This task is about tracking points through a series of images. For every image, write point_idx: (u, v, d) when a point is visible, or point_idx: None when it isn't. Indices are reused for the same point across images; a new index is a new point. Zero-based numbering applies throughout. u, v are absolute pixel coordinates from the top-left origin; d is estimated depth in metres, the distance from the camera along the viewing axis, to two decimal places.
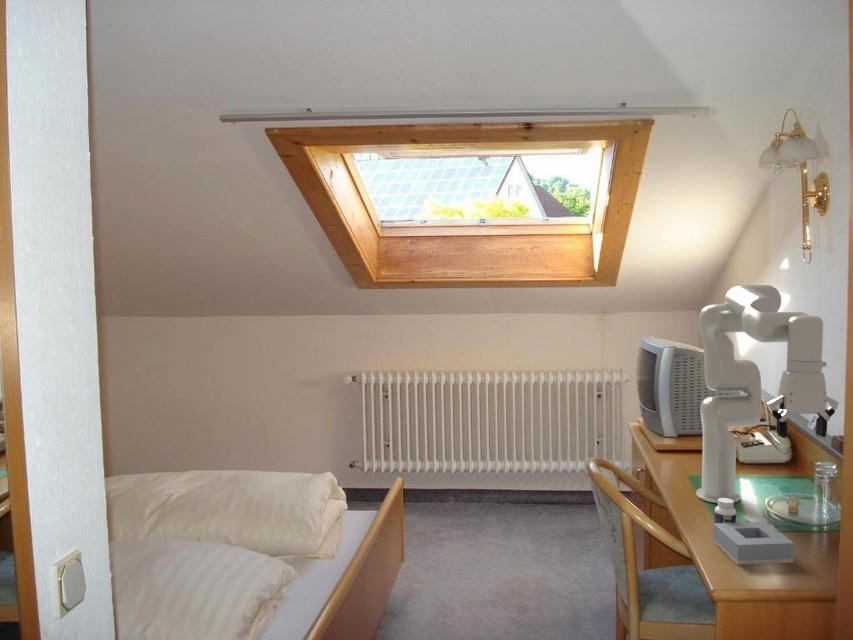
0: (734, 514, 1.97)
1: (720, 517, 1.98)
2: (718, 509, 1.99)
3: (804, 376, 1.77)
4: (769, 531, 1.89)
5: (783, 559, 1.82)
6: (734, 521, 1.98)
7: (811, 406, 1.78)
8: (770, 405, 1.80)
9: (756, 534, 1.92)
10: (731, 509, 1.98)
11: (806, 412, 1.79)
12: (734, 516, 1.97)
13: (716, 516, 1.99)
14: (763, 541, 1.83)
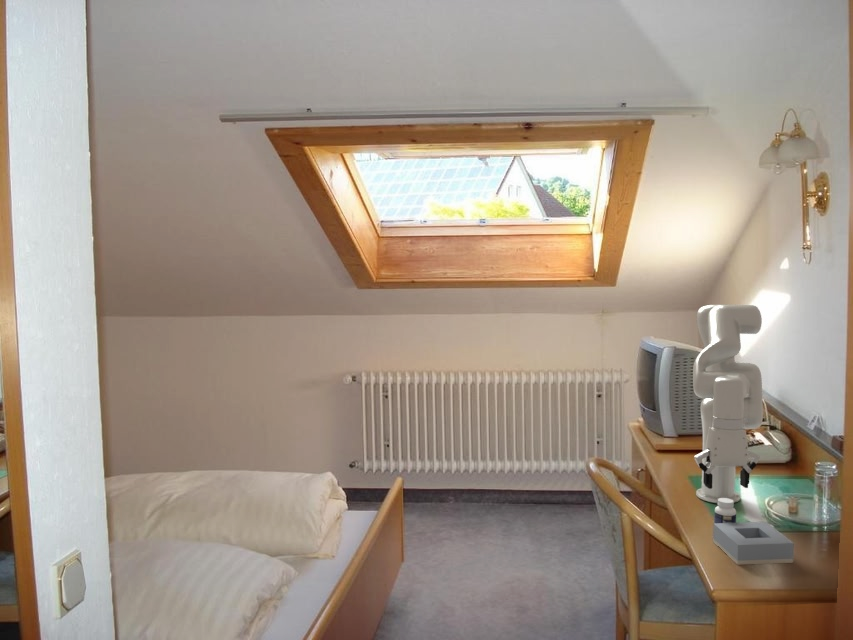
0: (734, 514, 1.97)
1: (720, 517, 1.98)
2: (718, 509, 1.99)
3: (727, 432, 1.94)
4: (769, 531, 1.89)
5: (783, 559, 1.82)
6: (734, 521, 1.98)
7: (734, 460, 1.95)
8: (697, 458, 1.97)
9: (756, 534, 1.92)
10: (731, 509, 1.98)
11: (729, 465, 1.96)
12: (734, 516, 1.97)
13: (716, 516, 1.99)
14: (763, 541, 1.83)
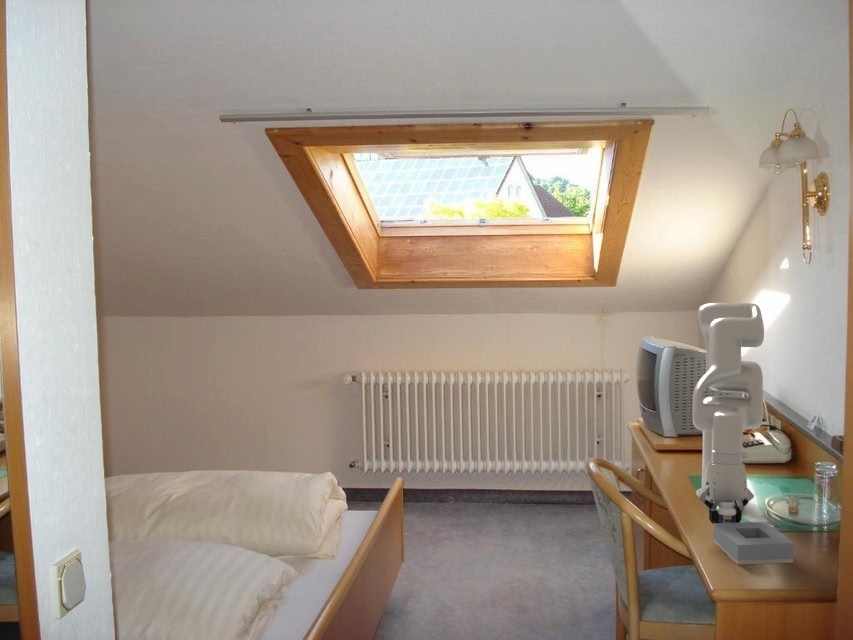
0: (734, 514, 1.97)
1: (720, 517, 1.98)
2: (718, 509, 1.99)
3: (726, 467, 1.96)
4: (769, 531, 1.89)
5: (783, 559, 1.82)
6: (734, 521, 1.98)
7: (733, 494, 1.97)
8: (700, 498, 1.98)
9: (756, 534, 1.92)
10: (731, 509, 1.98)
11: (728, 499, 1.97)
12: (734, 516, 1.97)
13: None
14: (763, 541, 1.83)
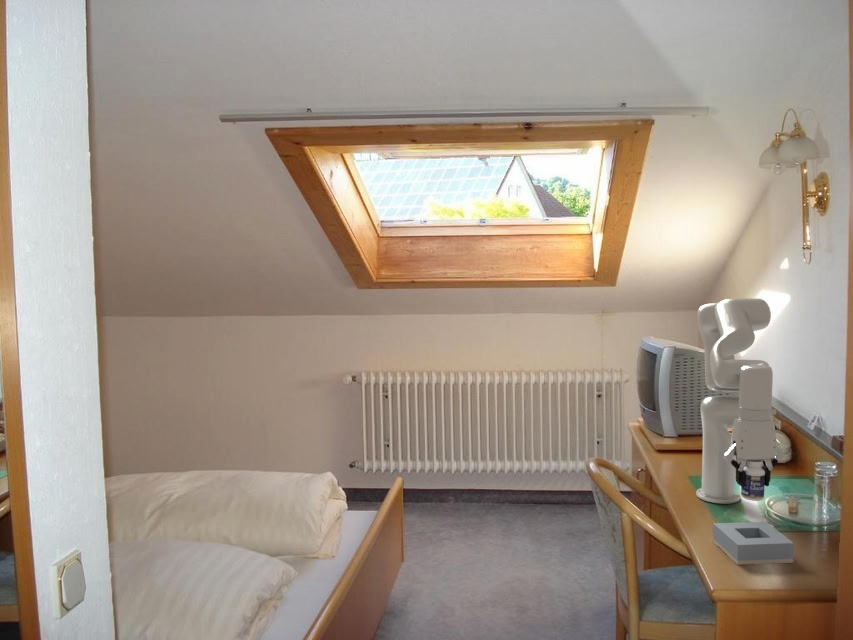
0: (763, 474, 1.85)
1: (747, 478, 1.86)
2: (745, 469, 1.87)
3: (754, 424, 1.84)
4: (769, 531, 1.89)
5: (783, 559, 1.82)
6: (763, 482, 1.86)
7: (761, 453, 1.85)
8: (727, 457, 1.86)
9: (756, 534, 1.92)
10: (759, 469, 1.86)
11: (757, 458, 1.85)
12: (763, 476, 1.85)
13: None
14: (763, 541, 1.83)
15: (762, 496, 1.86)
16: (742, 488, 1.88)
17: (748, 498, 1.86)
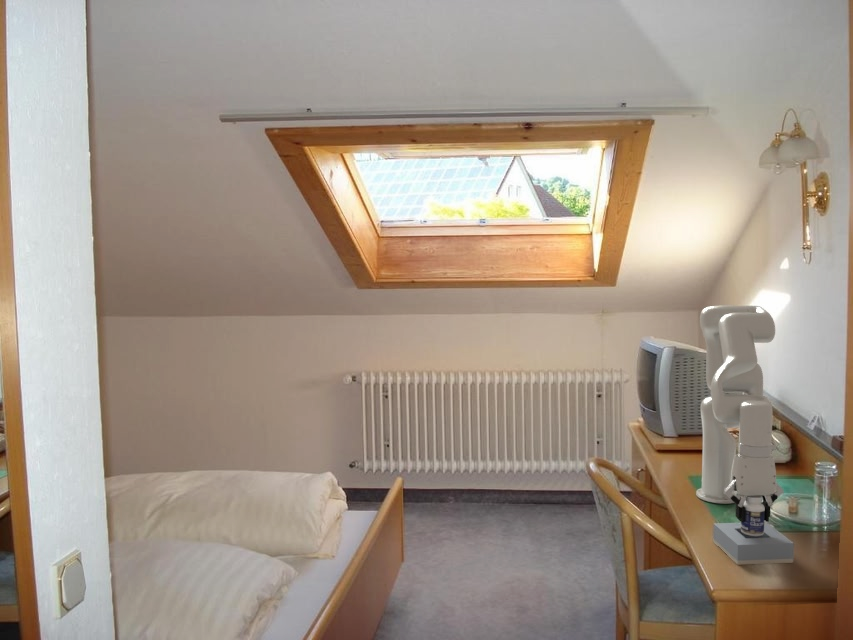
0: (763, 510, 1.86)
1: (747, 513, 1.86)
2: (745, 505, 1.87)
3: (754, 460, 1.84)
4: (769, 531, 1.89)
5: (783, 559, 1.82)
6: (763, 518, 1.86)
7: (761, 489, 1.85)
8: (727, 493, 1.87)
9: None
10: (759, 505, 1.86)
11: (756, 494, 1.86)
12: (763, 512, 1.86)
13: None
14: (763, 541, 1.83)
15: (762, 532, 1.86)
16: (742, 523, 1.88)
17: (748, 533, 1.87)
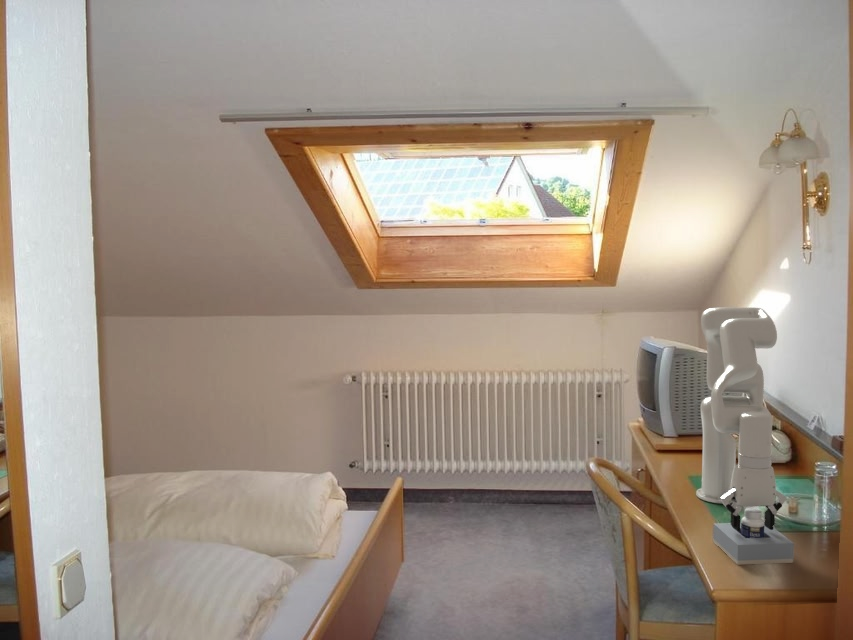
0: (762, 525, 1.87)
1: (747, 528, 1.87)
2: (745, 520, 1.88)
3: (754, 471, 1.84)
4: (769, 531, 1.89)
5: (783, 559, 1.82)
6: (762, 533, 1.87)
7: (761, 499, 1.86)
8: (723, 500, 1.87)
9: None
10: (759, 520, 1.87)
11: (756, 505, 1.86)
12: (762, 527, 1.87)
13: (743, 527, 1.88)
14: (763, 541, 1.83)
15: None
16: None
17: None
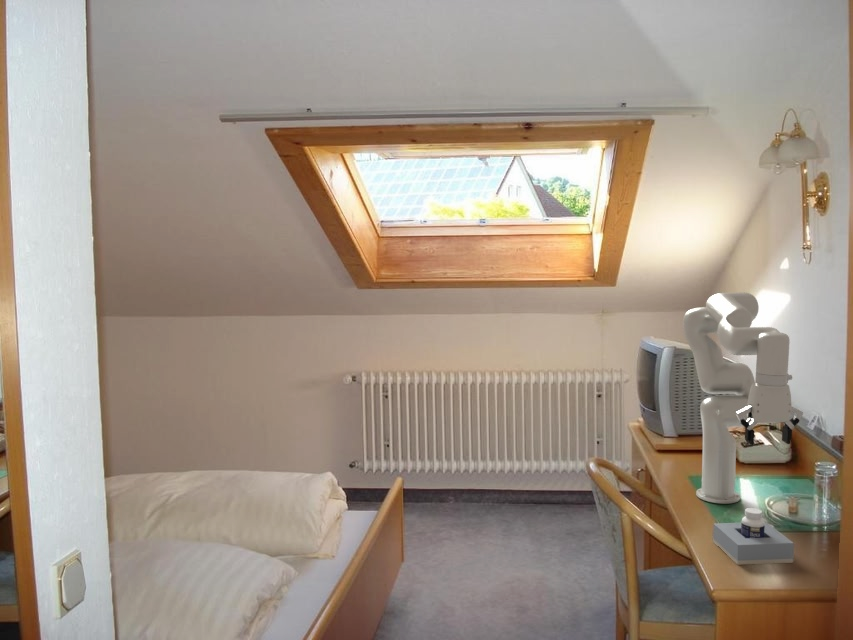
0: (762, 525, 1.87)
1: (747, 528, 1.87)
2: (745, 520, 1.88)
3: (770, 389, 1.92)
4: (769, 531, 1.89)
5: (783, 559, 1.82)
6: (762, 533, 1.87)
7: (777, 416, 1.93)
8: (739, 414, 1.95)
9: None
10: (759, 520, 1.87)
11: (772, 421, 1.94)
12: (762, 528, 1.87)
13: (743, 527, 1.88)
14: (763, 541, 1.83)
15: None
16: None
17: None
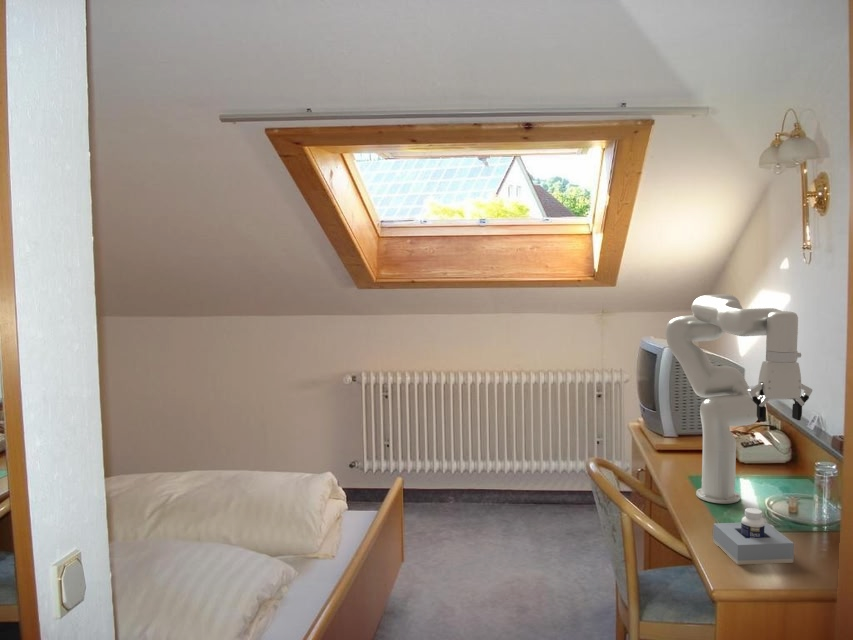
0: (762, 525, 1.87)
1: (747, 528, 1.87)
2: (745, 520, 1.88)
3: (781, 365, 1.98)
4: (769, 531, 1.89)
5: (783, 559, 1.82)
6: (762, 533, 1.87)
7: (787, 392, 1.99)
8: (751, 392, 2.00)
9: None
10: (759, 520, 1.87)
11: (783, 398, 1.99)
12: (762, 527, 1.87)
13: (743, 527, 1.88)
14: (763, 541, 1.83)
15: None
16: None
17: None
